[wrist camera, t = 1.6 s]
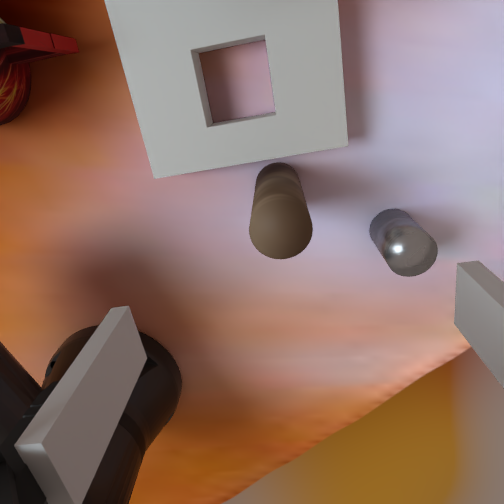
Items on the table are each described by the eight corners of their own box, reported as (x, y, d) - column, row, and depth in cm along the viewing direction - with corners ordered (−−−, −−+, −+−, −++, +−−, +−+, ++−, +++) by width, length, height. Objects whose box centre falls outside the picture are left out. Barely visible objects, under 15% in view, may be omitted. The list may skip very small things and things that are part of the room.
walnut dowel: (259, 208, 36) (254, 263, 25) (252, 166, 34) (244, 205, 23) (301, 201, 36) (315, 254, 25) (296, 159, 34) (308, 195, 23)
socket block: (164, 170, 35) (70, 247, 18) (91, -108, 27) (-187, -402, 11) (340, 139, 33) (409, 195, 17) (316, -167, 25) (401, -629, 9)
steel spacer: (370, 250, 37) (387, 279, 32) (368, 212, 36) (385, 235, 30) (412, 244, 37) (437, 273, 31) (412, 205, 35) (438, 228, 30)
